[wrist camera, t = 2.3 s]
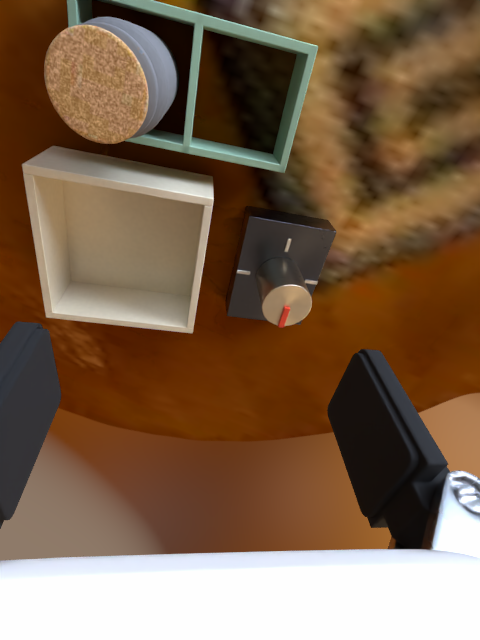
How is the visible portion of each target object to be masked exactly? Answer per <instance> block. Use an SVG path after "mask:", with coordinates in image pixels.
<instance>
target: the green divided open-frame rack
mask: <svg viewBox="0 0 480 640" xmlns="http://www.w3.org/2000/svg"><path fill="white" fill-rule="evenodd" d="M97 1H101V2H104V3H108V4H112V5H115V6H119V7H123V8H127V9H130V10H134V11H138V12H141V13H145V14H149V15H153V16H156V17H160V18H164V19H168V20H171V21H175V22H179V23H182V24H186V25H190V26H194V34H193V44H192V54H191V65H190V75H189V85H188V96H187V106H186V116H185V126H184V135H180V134H175V133H170V132H166V131H161V130H156V129H152V130H150V131H149V132H147V133H146V134H144V135H142V136H139V137H136V138H130V139H127V140H124V141H128V142H133V143H138V144H143V145H148V146H153V147H158V148H163V149H168V150H173V151H178V152H183V153H187V154H192V155H197V156H202V157H207V158H212V159H217V160H222V161H227V162H232V163H237V164H242V165H247V166H252V167H257V168H262V169H267V170H272V171H276V172H281V173H284V172H285V169H286V165H287V162H288V158H289V154H290V150H291V147H292V143H293V139H294V135H295V132H296V128H297V124H298V120H299V117H300V113H301V109H302V105H303V102H304V98H305V94H306V91H307V87H308V83H309V79H310V76H311V72H312V68H313V64H314V61H315V57H316V53H317V49H318V46H316V45H312V44H309V43H305V42H302V41H298V40H294V39H291V38H287V37H284V36H280V35H276V34H273V33H269V32H265V31H262V30H258V29H255V28H251V27H247V26H244V25H240V24H237V23H233V22H229V21H226V20H222V19H219V18H215V17H211V16H208V15H204V14H200V13H197V12H193V11H190V10H186V9H182V8H179V7H175V6H172V5H168V4H164V3H161V2H157V1H153V0H97ZM67 13H68V28H70V27H72V26H75V25H79V24H82V23H85V22H86V21H88V20H91V19H93V17H92V0H67ZM204 29H205V30H208V31H212V32H216V33H220V34H223V35H227V36H231V37H234V38H238V39H242V40H246V41H249V42H253V43H257V44H260V45H264V46H268V47H272V48H275V49H279V50H283V51H286V52H290V53H294V54H297V56H296V60H295V64H294V69H293V73H292V77H291V81H290V85H289V89H288V93H287V98H286V102H285V106H284V110H283V114H282V118H281V122H280V127H279V131H278V135H277V139H276V143H275V147H274V152H273V154H270V153H265V152H260V151H256V150H251V149H246V148H241V147H237V146H232V145H227V144H223V143H218V142H213V141H208V140H204V139H199V138H194V137H192V131H193V122H194V113H195V104H196V95H197V86H198V77H199V68H200V59H201V50H202V40H203V31H204Z"/></svg>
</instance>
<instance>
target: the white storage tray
mask: <svg viewBox="0 0 480 640" xmlns="http://www.w3.org/2000/svg"><path fill="white" fill-rule="evenodd" d="M22 169H23V173H24V174H23V176H24V182H25V189H26V195H27V201H28V208H29V214H30V220H31V226H32V233H33V239H34V245H35V251H36V258H37V264H38V270H39V277H40V283H41V289H42V295H43V302H44V308H45V314H46V318H56V319H65V320H74V321H83V322H92V323H101V324H111V325H120V326H129V327H138V328H147V329H157V330H166V331H175V332H184V333H193V328H194V321H195V315H196V309H197V303H198V296H199V290H200V284H201V278H202V271H203V265H204V259H205V252H206V246H207V240H208V234H209V227H210V221H211V215H212V208H213V202H214V190H213V176H209V175H203V174H198V173H193V172H188V171H183V170H177V169H172V168H167V167H162V166H157V165H152V164H146V163H141V162H136V161H131V160H126V159H120V158H115V157H110V156H105V155H100V154H95V153H89V152H84V151H79V150H74V149H69V148H63V147H58V146H51V147H50V148H48V149H47V150H45V151H43V152H41V153H40V154H38V155H36V156H35V157H33V158H31V159H30V160H28V161H26V162H25V163H23V164H22Z"/></svg>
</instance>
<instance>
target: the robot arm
mask: <svg viewBox="0 0 480 640" xmlns="http://www.w3.org/2000/svg"><path fill="white" fill-rule="evenodd" d="M60 400H61V390H60V385H59V380H58V374H57V369H56V364H55V359H54V354H53V349H52V344H51V339H50V334H49V331H48V329H43V327H42V325H41V324H39V323H28V322H16V323H15V324H14V325H13V326H12V328H11V329H10V331H9V332H8V333H7V335H6V336H5V338H4V339H3V341H2V342H1V343H0V528H1V526H2V524H3V521H4V520H9V519H10V518H11V517H12V516H13V514H14V512H15V510H16V507H17V505H18V502H19V500H20V498H21V495H22V493H23V490H24V488H25V486H26V483H27V481H28V478H29V476H30V473H31V471H32V469H33V466H34V464H35V462H36V459H37V457H38V454H39V452H40V449H41V447H42V445H43V442H44V440H45V437H46V435H47V432H48V430H49V428H50V425H51V423H52V420H53V418H54V416H55V413H56V411H57V409H58V406H59V403H60ZM328 417H329V420H330V423H331V426H332V428H333V431H334V434H335V437H336V440H337V443H338V446H339V449H340V451H341V454H342V457H343V460H344V463H345V466H346V469H347V472H348V475H349V478H350V481H351V484H352V486H353V489H354V492H355V495H356V498H357V501H358V504H359V506H360V509H361V512H362V514H363V515H364V516H365V517H367V518H368V520H369V523H370V526H371V528H377V527H378V528H381V527H388V528H389V530H390V533H391V535H392V537H391V540H390V543H389V546H388V549H359V550H317V551H316V550H314V551H313V550H312V551H272V552H271V551H270V552H230V553H192V554H159V555H125V556H94V557H93V556H92V557H65V558H44V559H23V560H3V561H0V640H480V479H479V478H478V477H476V476H474V475H472V474H470V473H468V472H464V471H460V470H459V471H452V472H450V471H449V469H448V468H447V465H448V463H447V461H446V460H445V458H444V456H443V455H442V453H441V451H440V449H439V448H438V446H437V445H436V443H435V441H434V440H433V438H432V436H431V435H430V433H429V431H428V429H427V428H426V426H425V425H424V423H423V421H422V420H421V418H420V416H419V414H418V413H417V411H416V409H415V408H414V406H413V404H412V403H411V401H410V399H409V398H408V396H407V394H406V393H405V391H404V389H403V388H402V386H401V384H400V383H399V381H398V379H397V378H396V376H395V374H394V373H393V371H392V369H391V368H390V366H389V364H388V363H387V361H386V359H385V358H384V356H383V354H382V353H381V352H380V351H378V350H366V349H361V350H360V351H359V352H358V353H355V354H354V355H353V357H352V359H351V361H350V363H349V365H348V367H347V369H346V371H345V373H344V375H343V377H342V379H341V381H340V383H339V385H338V387H337V389H336V391H335V393H334V395H333V397H332V399H331V401H330V403H329V405H328Z"/></svg>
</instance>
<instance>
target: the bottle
mask: <svg viewBox="0 0 480 640" xmlns="http://www.w3.org/2000/svg"><path fill="white" fill-rule="evenodd" d="M44 78H45V84H46V88H47V92H48V95H49V98H50V100H51V102H52V104H53V106H54V108H55V110H56V111H57V113H58V114H59V116H60V117H61V118H62V120H63V121H64V122H65V123H66V124H67V125H68V126H69V127H70V128H71V129H72V130H74V131H75V132H76V133H78V134H79V135H81V136H83V137H84V138H86V139H88V140H91V141H94V142H97V143H102V144H115V143H120V142H122V141H124V140H127V139H130V138H136V137H139V136H142V135H144V134H146V133H147V132H149V131H150V130H152V129H153V128H154V127H155V126H156V125H157V124H158V123H159V121H160V120H161V119H162V118H163V116H164V115H165V113H166V112H167V110H168V109H169V108H170V106H171V105H172V103H173V101H174V99H175V97H176V95H177V91H178V86H179V71H178V66H177V63H176V60H175V57H174V55H173V53H172V51H171V49H170V48H169V47H168V45H167V44H166V43H165V42H164V40H162V39H161V38H160V37H159V36H158V35H156V34H155V33H153V32H151V31H149V30H147V29H145V28H143V27H141V26H138V25H136V24H133V23H131V22H128V21H125V20H122V19H119V18H113V17H97V18H94V19H91V20H88V21H86V22H85V23H82V24H79V25H75V26H72V27H70V28H67V29H65V30H63V31H62V32H60V33H59V34H58V35H57V36H56V37H55V38H54V40H53V41H52V43H51V44H50V46H49V48H48V51H47V53H46V57H45V62H44Z"/></svg>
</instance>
